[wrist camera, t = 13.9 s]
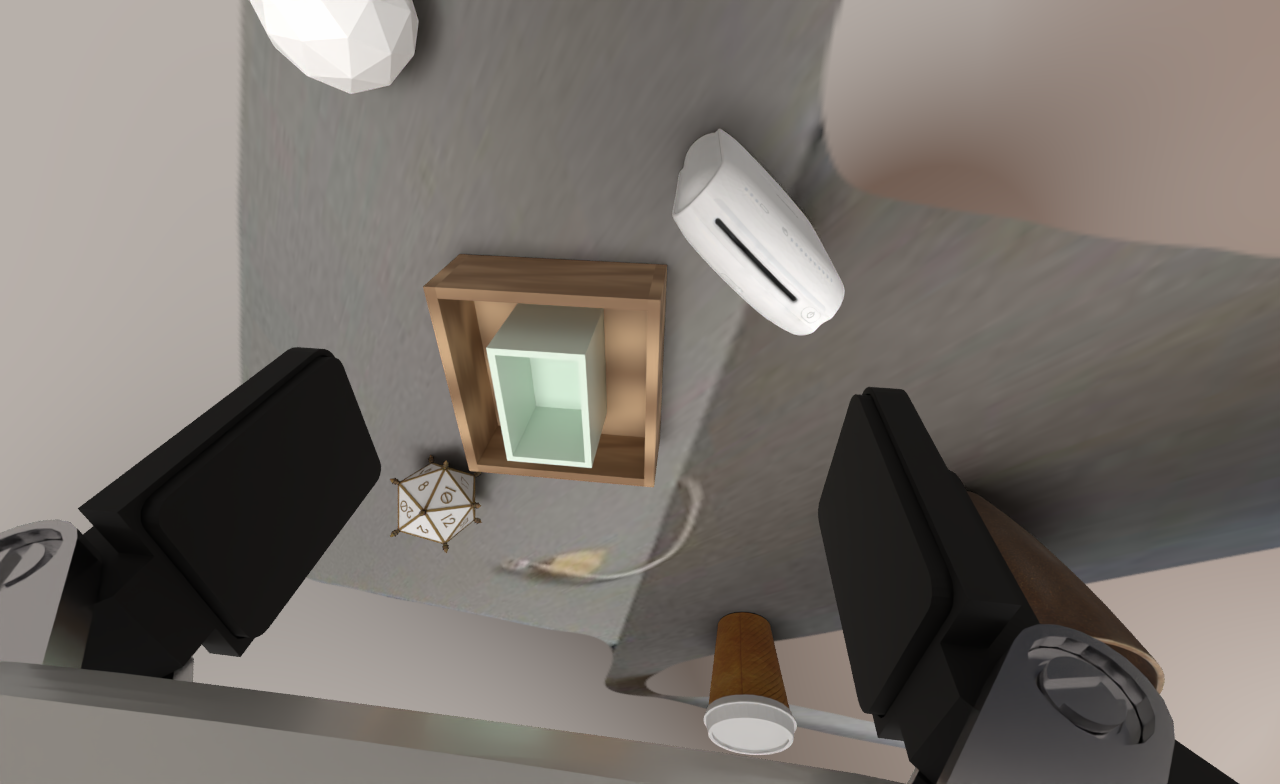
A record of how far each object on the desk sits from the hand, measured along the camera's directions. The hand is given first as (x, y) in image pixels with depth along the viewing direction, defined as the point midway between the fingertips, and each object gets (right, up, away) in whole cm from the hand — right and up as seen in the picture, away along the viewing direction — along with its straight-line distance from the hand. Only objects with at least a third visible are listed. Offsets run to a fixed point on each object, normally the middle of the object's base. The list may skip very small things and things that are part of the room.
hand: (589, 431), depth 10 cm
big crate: (-5, +4, +33) cm, 33 cm away
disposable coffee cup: (+14, -28, +53) cm, 61 cm away
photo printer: (+8, +14, +25) cm, 29 cm away
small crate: (-5, +3, +32) cm, 33 cm away
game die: (-18, -7, +43) cm, 47 cm away
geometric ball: (-15, +23, +21) cm, 34 cm away
